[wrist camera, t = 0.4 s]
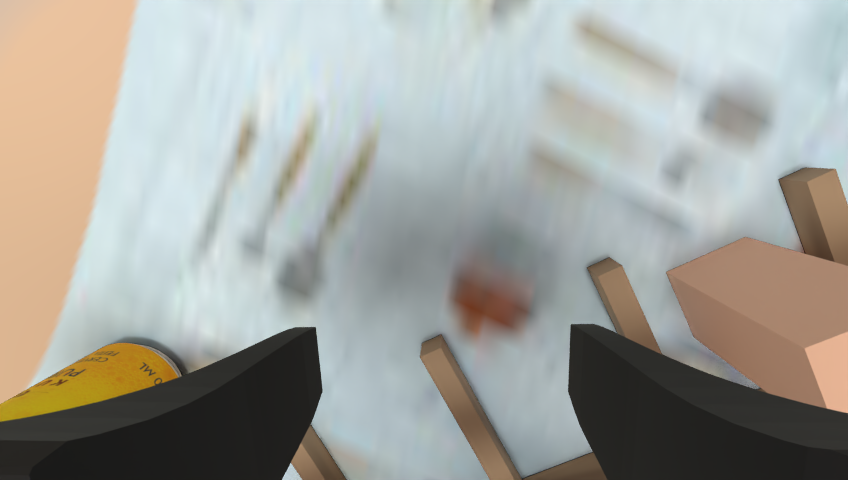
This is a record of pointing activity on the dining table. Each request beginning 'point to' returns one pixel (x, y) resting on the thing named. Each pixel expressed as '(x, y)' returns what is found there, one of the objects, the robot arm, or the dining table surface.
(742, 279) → the terracotta block
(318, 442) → the brown open frame
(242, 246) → the dining table surface
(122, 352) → the beer can
